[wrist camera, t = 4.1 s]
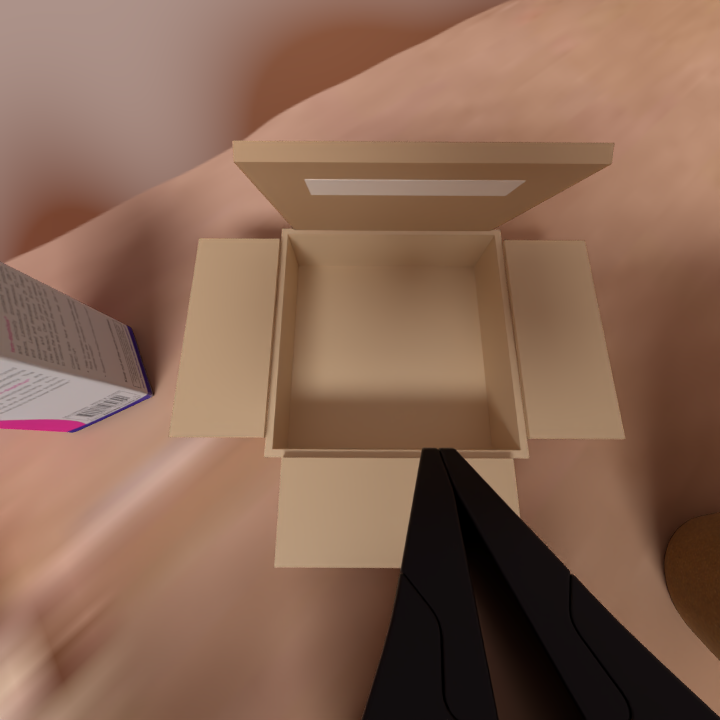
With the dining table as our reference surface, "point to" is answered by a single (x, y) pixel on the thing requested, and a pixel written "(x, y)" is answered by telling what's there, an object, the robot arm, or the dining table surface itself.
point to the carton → (388, 369)
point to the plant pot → (697, 577)
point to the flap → (413, 181)
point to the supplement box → (62, 359)
